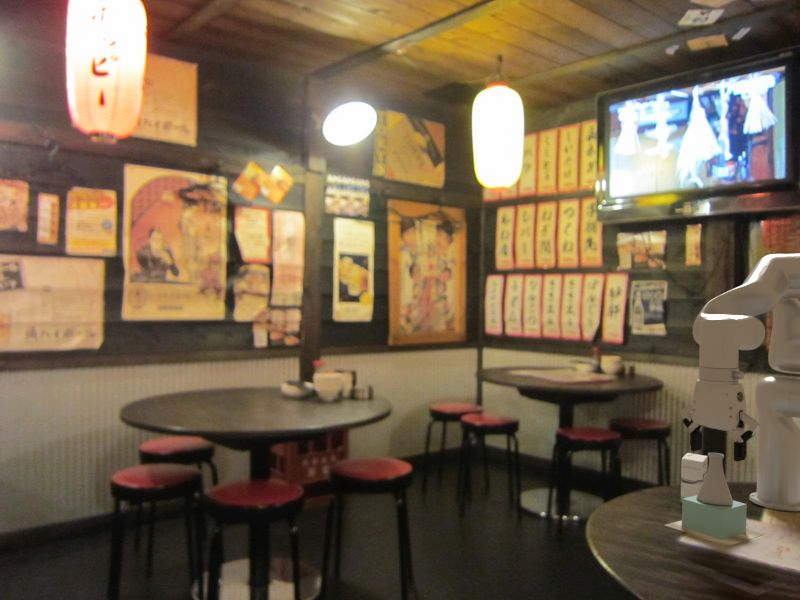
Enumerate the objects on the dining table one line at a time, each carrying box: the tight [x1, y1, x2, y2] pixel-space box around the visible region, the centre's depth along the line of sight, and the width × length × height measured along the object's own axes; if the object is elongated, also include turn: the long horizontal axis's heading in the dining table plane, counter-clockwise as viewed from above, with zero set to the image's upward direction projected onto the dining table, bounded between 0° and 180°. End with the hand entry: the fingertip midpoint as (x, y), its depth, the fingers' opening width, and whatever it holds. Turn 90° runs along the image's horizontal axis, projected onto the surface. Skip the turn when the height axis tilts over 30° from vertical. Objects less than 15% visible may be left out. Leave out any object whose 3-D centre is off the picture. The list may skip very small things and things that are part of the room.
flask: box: [697, 452, 733, 505], centre depth 140 cm, size 7×7×10 cm
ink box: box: [680, 452, 709, 504], centre depth 161 cm, size 9×5×12 cm, turn 148°
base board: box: [664, 519, 765, 548], centre depth 140 cm, size 14×14×1 cm
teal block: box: [681, 495, 748, 540], centre depth 140 cm, size 9×9×6 cm
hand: (717, 455), depth 140 cm, fingers open, 9 cm apart
